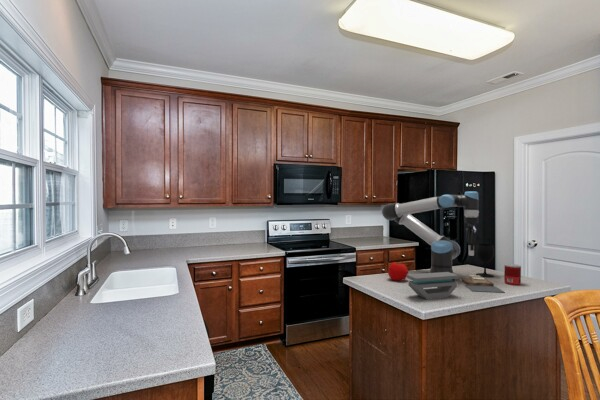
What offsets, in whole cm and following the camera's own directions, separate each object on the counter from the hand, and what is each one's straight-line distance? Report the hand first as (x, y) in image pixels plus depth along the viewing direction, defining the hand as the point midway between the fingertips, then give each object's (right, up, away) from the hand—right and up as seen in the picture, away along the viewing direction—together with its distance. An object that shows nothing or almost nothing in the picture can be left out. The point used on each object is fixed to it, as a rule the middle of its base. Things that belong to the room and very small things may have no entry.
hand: (471, 255), depth 196 cm
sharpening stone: (-37, -15, -33) cm, 52 cm away
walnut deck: (-2, -15, -10) cm, 18 cm away
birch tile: (-2, -13, -9) cm, 16 cm away
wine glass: (+15, -15, +11) cm, 23 cm away
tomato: (-45, -15, -1) cm, 47 cm away
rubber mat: (-3, -15, -20) cm, 25 cm away
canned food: (+20, -15, -8) cm, 26 cm away
